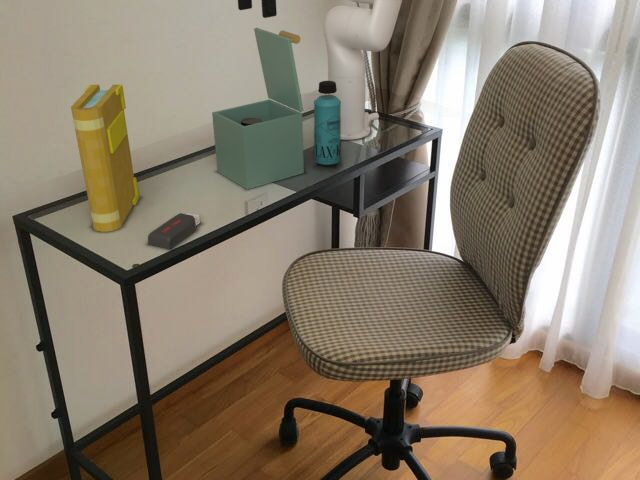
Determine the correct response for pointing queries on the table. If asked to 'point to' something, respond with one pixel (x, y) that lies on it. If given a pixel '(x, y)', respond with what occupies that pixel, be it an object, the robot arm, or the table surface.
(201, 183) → the table surface
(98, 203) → the book
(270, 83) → the bin lid
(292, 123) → the bin
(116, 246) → the table surface
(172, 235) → the usb drive
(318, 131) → the beverage bottle
